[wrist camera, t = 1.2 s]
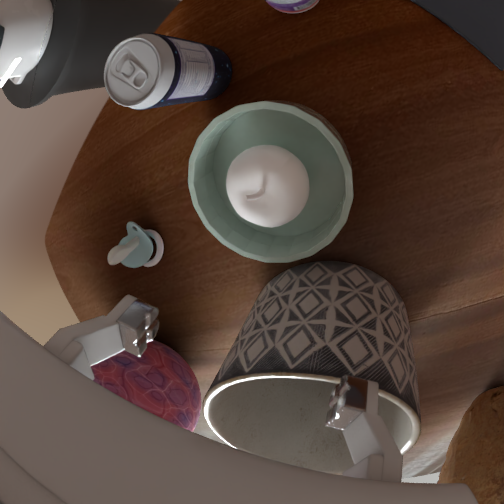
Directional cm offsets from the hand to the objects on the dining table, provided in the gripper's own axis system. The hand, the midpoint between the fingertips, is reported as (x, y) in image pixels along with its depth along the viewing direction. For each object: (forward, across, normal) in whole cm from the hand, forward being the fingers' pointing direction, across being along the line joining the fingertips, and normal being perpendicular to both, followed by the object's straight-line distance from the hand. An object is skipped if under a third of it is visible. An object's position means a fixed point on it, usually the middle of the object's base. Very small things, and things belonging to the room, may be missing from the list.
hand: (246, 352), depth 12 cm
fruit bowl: (+20, +3, -1) cm, 21 cm away
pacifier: (+21, +18, +13) cm, 31 cm away
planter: (+20, -7, +14) cm, 26 cm away
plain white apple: (+20, +3, -1) cm, 20 cm away
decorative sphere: (+21, +15, +36) cm, 44 cm away
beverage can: (+21, +12, -9) cm, 26 cm away
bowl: (+20, -40, +21) cm, 50 cm away
